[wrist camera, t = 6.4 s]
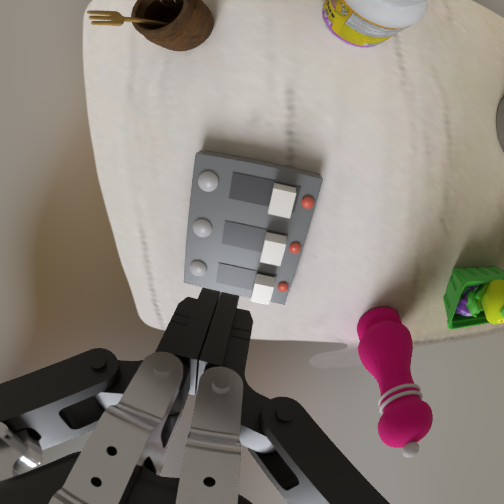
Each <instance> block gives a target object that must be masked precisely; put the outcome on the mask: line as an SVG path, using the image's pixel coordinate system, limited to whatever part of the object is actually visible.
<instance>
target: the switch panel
mask: <svg viewBox="0 0 504 504" xmlns="http://www.w3.org/2000/svg"><path fill="white" fill-rule="evenodd" d="M322 180H323V179H322V177H321V176H320V174H316V173H312V172H308V171H304V170H300V169H295V168H291V167H287V166H282V165H278V164H273V163H269V162H264V161H259V160H254V159H249V158H244V157H238V156H233V155H227V154H222V153H216V152H209V151H203V150H201V151H199V152H198V153H196V156H195V163H194V171H193V180H192V188H191V198H190V207H189V218H188V229H187V241H186V255H185V270H184V283H188V284H192V285H196V286H200V287H205V288H209V289H213V290H218V291H222V292H226V293H231V294H235V295H240V296H245V297H249V298H251V296H252V291H253V287H254V282H255V278H256V274H260V275H265V276H270V277H275V283H274V290H273V293H272V297H271V300H270V302H273V303H278V304H283V305H285V302H286V299H287V296H288V293H289V290H290V287H291V284H292V281H293V277H294V274H295V271H296V268H297V265H298V262H299V259H300V255H301V252H302V249H303V246H304V242H305V239H306V236H307V232H308V229H309V226H310V222H311V219H312V215H313V212H314V209H315V205H316V202H317V198H318V194H319V191H320V187H321V184H322ZM274 183H277V184H281V185H286V186H290V187H295V188H296V197H295V201H294V205H293V208H292V212H291V216H290V219H289V218H285V217H280V216H276V215H271V214H268V209H269V204H270V199H271V195H272V190H273V186H274ZM266 232H269V233H273V234H278V235H282V236H286V247H285V251H284V255H283V258H282V262H281V265H280V266H276V265H272V264H267V263H262V262H260V258H261V252H262V248H263V244H264V240H265V235H266Z"/></svg>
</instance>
